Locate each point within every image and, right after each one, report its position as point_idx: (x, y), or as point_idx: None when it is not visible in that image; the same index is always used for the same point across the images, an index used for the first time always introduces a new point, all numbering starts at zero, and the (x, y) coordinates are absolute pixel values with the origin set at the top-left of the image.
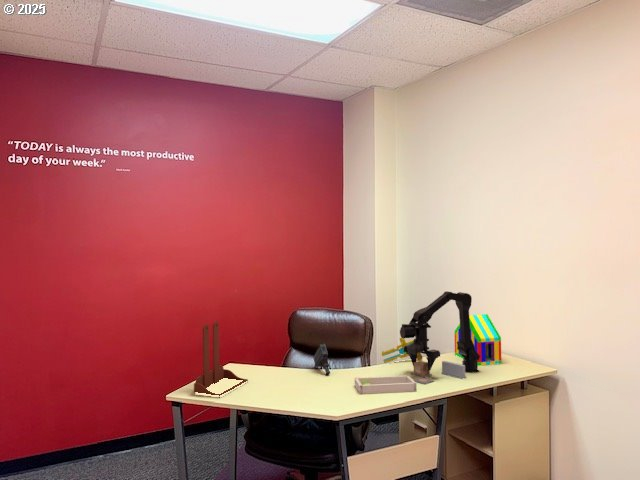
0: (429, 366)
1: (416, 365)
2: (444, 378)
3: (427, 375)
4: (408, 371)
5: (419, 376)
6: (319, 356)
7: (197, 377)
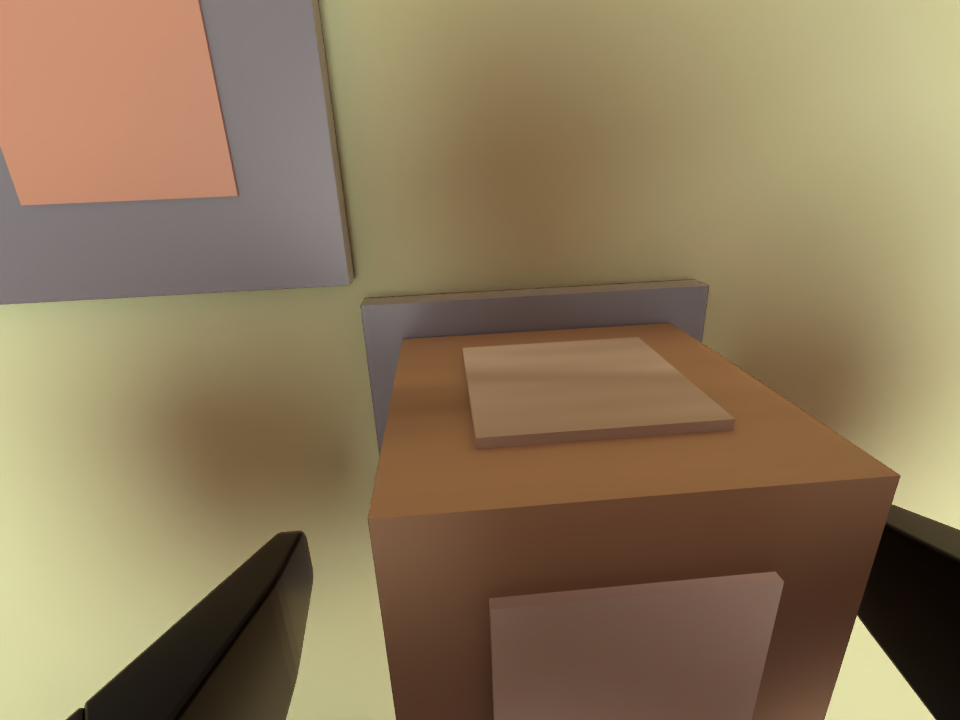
0: (169, 639)
1: (686, 437)
2: (118, 604)
3: None
4: (887, 420)
5: (465, 295)
6: None
7: None
